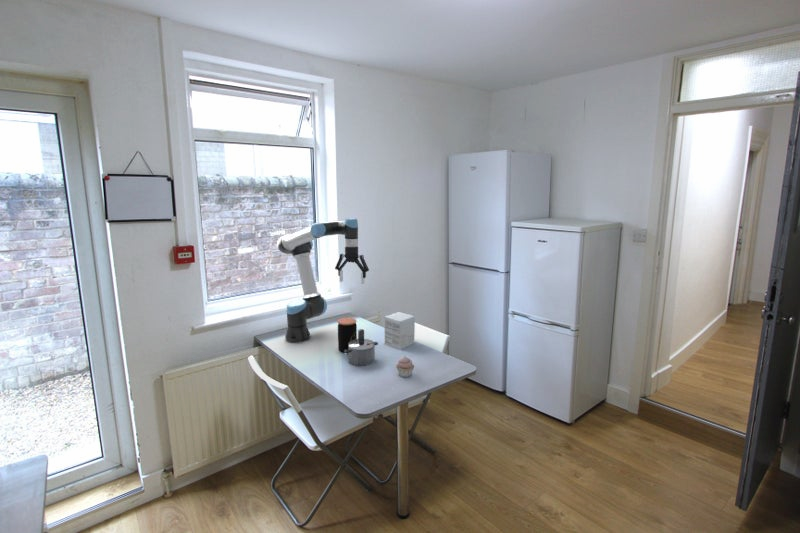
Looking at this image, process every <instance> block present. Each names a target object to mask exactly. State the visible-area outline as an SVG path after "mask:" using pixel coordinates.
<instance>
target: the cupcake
mask: <svg viewBox="0 0 800 533" xmlns="http://www.w3.org/2000/svg"><path fill="white" fill-rule="evenodd" d="M395 368H396V370H397V372H398V373H397V374H398V376H399V377H400V378H403V379H405V378H407V379H408V378H409V377H411V376H412V374H413V371H414V369H415V364H413V361H412V360H411V359H410V358H409V357H407V356H404V357H403V358H401V359H399V361H397V364H396V366H395Z"/></svg>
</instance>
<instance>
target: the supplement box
mask: <svg viewBox="0 0 800 533" xmlns="http://www.w3.org/2000/svg"><path fill="white" fill-rule="evenodd" d="M415 320H416V317H415V316H414V315H412V314H409V313H406V312H405V313H404V312H400V311H397V312H395V313H394V312H393V313H390V314H388V315H385V316H384V345H385V346H386V345H387V346H389V347H391V348H395V349H397V350H403V349H405V348H407V347H410V346H411V345H414V344H415V332H416V331H415V326H416V325H415V322H416V321H415Z"/></svg>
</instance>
